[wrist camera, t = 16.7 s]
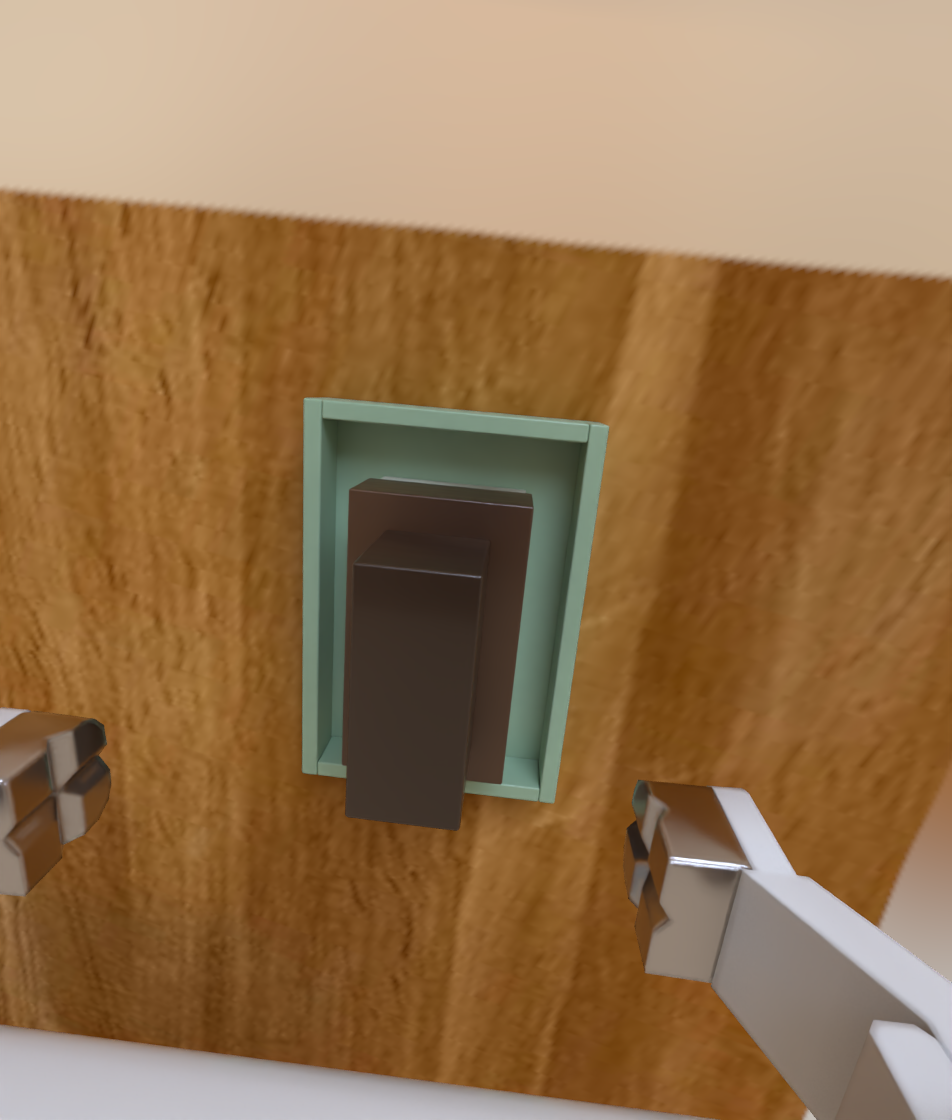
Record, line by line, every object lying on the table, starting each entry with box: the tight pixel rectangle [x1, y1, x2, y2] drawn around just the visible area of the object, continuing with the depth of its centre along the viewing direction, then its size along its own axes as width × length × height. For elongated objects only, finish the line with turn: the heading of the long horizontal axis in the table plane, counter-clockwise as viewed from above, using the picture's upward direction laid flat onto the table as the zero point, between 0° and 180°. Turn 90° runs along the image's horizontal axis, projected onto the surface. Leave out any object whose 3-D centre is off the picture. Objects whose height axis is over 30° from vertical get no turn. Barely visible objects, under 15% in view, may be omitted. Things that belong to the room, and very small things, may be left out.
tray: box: [302, 398, 609, 803], centre depth 18 cm, size 8×12×2 cm
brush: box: [342, 476, 534, 831], centre depth 15 cm, size 4×8×6 cm, turn 175°
